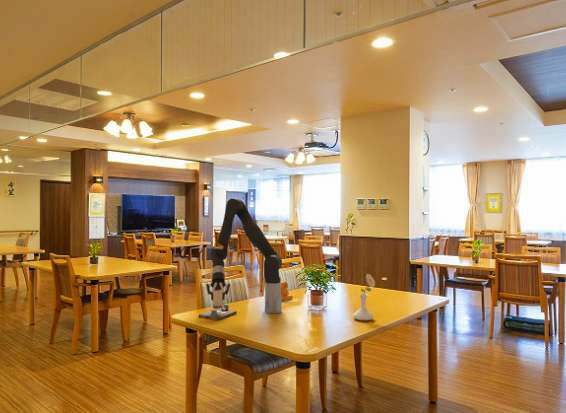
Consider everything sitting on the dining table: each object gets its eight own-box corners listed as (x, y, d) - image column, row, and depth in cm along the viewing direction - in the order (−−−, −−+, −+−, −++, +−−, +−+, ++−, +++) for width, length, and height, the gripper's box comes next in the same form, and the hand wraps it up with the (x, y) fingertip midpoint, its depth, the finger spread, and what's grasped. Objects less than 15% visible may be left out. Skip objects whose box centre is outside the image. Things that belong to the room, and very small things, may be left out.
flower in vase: (361, 323, 223) (361, 276, 224) (348, 318, 234) (349, 273, 234) (380, 320, 230) (380, 274, 230) (367, 315, 240) (367, 272, 240)
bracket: (280, 301, 277) (280, 283, 277) (274, 299, 283) (274, 281, 283) (293, 299, 283) (293, 281, 283) (287, 297, 289) (287, 280, 289)
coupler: (222, 306, 239) (222, 288, 240) (222, 308, 234) (222, 290, 234) (213, 306, 239) (213, 288, 239) (212, 308, 234) (213, 290, 234)
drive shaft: (228, 310, 243) (228, 304, 243) (224, 311, 240) (224, 306, 240) (224, 309, 245) (224, 304, 245) (220, 310, 241) (220, 305, 241)
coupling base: (236, 313, 241) (236, 310, 241) (219, 320, 226) (219, 317, 226) (216, 311, 247) (216, 308, 247) (198, 317, 232) (198, 314, 232)
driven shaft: (218, 314, 232) (218, 309, 232) (216, 316, 228) (216, 311, 228) (213, 314, 232) (213, 309, 232) (211, 316, 228) (211, 310, 228)
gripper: (206, 271, 243) (204, 296, 231) (230, 271, 245) (230, 296, 233) (206, 279, 248) (204, 303, 236) (230, 278, 250) (230, 303, 238)
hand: (217, 299), depth 235 cm, fingers closed on coupler, 5 cm apart
